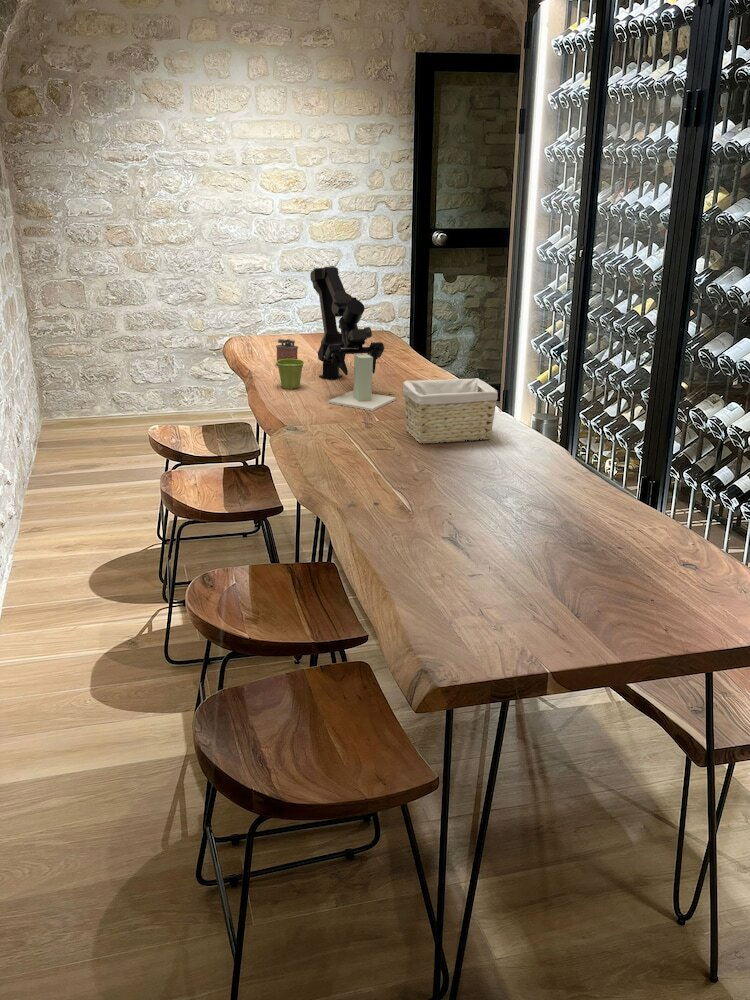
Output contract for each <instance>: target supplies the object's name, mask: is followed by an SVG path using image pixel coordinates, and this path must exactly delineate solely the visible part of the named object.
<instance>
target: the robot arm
mask: <svg viewBox="0 0 750 1000" xmlns="http://www.w3.org/2000/svg"><path fill="white" fill-rule="evenodd" d="M309 276H310V281H311V283H312V288H313V289H314V291H316V293H317V294H318V296H319V297H318V298H319V306H320V311H321V313H320V314H321V319H322V325H323V332H324V334H323V337H322V339H321V340H320V341H321V342H320V346H319V348H318V351H317V360H319V361H320V362H322V374H320V375H318V377H319V378H322V379H328V380H337V379H340V378H342V377H343V376H344V375H346V376H348V374H349V373H348V367H347V365H346V362H345V359H346V355H363V354H368V355H370V356H372V357H373V375H374V374H375V372H376V366H377V365H376V364H377V360H378V359H379V358H381V356H382V355H383V353H384V351H385V349H386V348H385V345H384V343H383V342H381V341H377V342H375V341H374V342H370V345H369V346H364V345H365V344H366V341H365V340H368V339H370V338H372V335H373V333H372V332H373V331H372V329H371V327H370V326H366V327H364V328H359V326H358V323H360V321H361V318H362V316H363V314H364V312H365V305H364V304H363V303H362V302H361V301H360V300H358V298H357V297H355V296H352V295H351V294H349V293H347V292H346V289H345V288H344V285H343V283H342V280H341V278H340V276H339V268H338V267H336V266H324V267H314V268H313V270H311V271H310V275H309ZM338 317H340V318H339V320H338V326H337V318H338ZM338 329H340V332H341V333H340V332H339V331H338ZM340 370H341V371H342V372H343V373H344V374H340Z"/></svg>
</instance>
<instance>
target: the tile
mask: <svg viewBox="0 0 750 1000" xmlns="http://www.w3.org/2000/svg"><path fill="white" fill-rule="evenodd" d="M353 393H354V389H353V390H351V391H348V392H346V393H345V392H344V393H343V394H341V395H339V396H337V397H333V398H332V399H329V400H327V401H328V402H327V403H328V404H330V403H331V405H337V406H341V405H343V407H347V406H349V407H348V408H352V407H354V408H353V409H358V408H360V409H359V410H363V409H365V410H364V411H369V410H370V411H369V412H374V411H376V410H378V409H380V408H382V407H384V406H387V405H389V404H391V403H392V401H393V402H394V401H396V400H397V399H396V398H397V397H395V396H390V395H389V396H388V395H384V394H383V395H382V394H377V393H372V400H370V401H357V400H356V399H354V398H353Z"/></svg>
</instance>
